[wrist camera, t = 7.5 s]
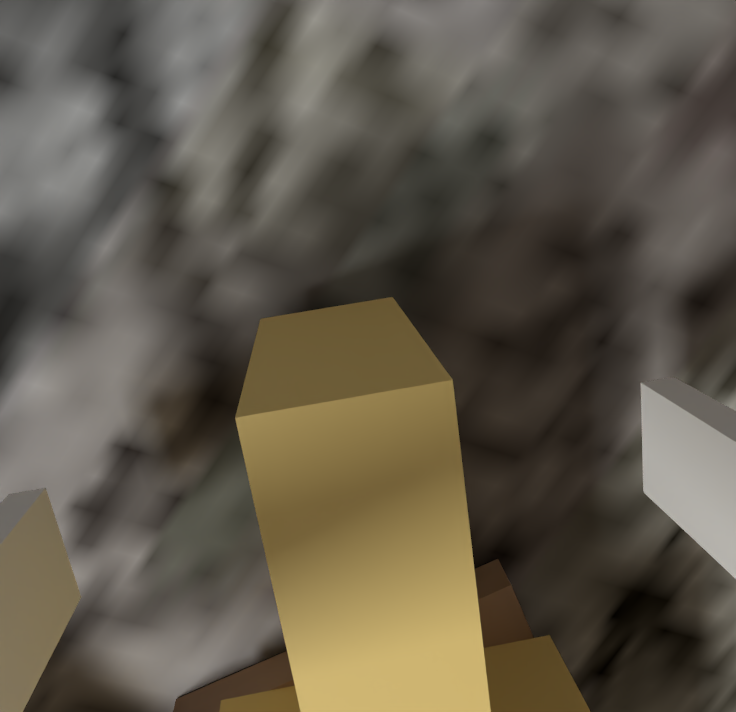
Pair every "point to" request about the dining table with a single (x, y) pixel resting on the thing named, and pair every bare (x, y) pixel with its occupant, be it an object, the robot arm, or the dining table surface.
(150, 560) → the dining table surface
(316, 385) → the link
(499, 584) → the pintle stand
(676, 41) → the dining table surface
